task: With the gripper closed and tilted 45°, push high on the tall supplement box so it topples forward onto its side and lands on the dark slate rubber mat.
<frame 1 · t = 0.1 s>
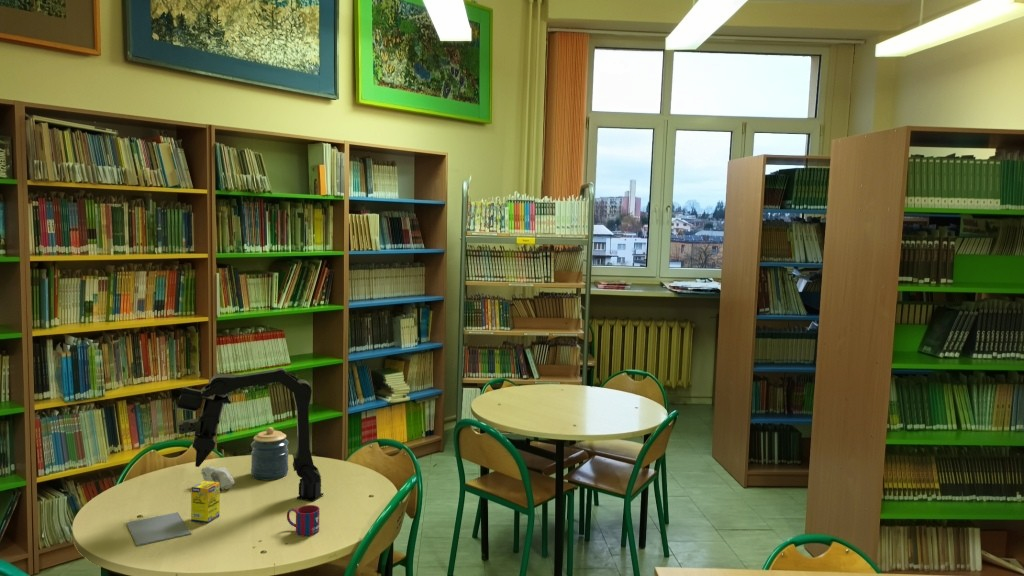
hand: (197, 462, 213), 15 cm above the table, tool pointing down, fingers open, 9 cm apart
supplement box: (205, 519, 207), on the table
skull: (218, 487, 234), on the table
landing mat: (158, 528, 199), on the table
mug: (302, 531, 202), on the table
canister: (269, 475, 248), on the table
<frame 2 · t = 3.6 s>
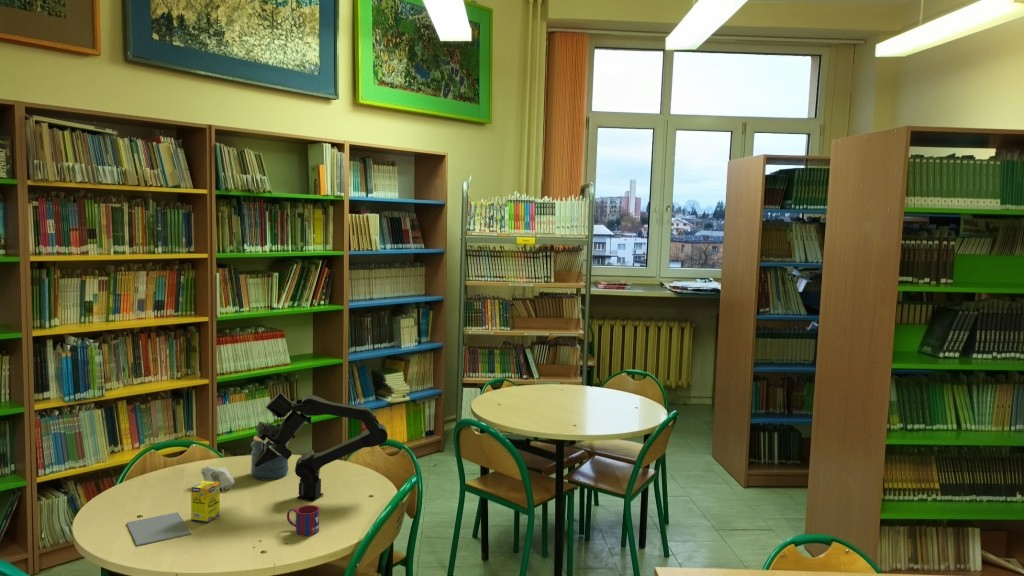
hand: (255, 466, 217), 13 cm above the table, tool tilted 45°, fingers closed
nothing on the table moved.
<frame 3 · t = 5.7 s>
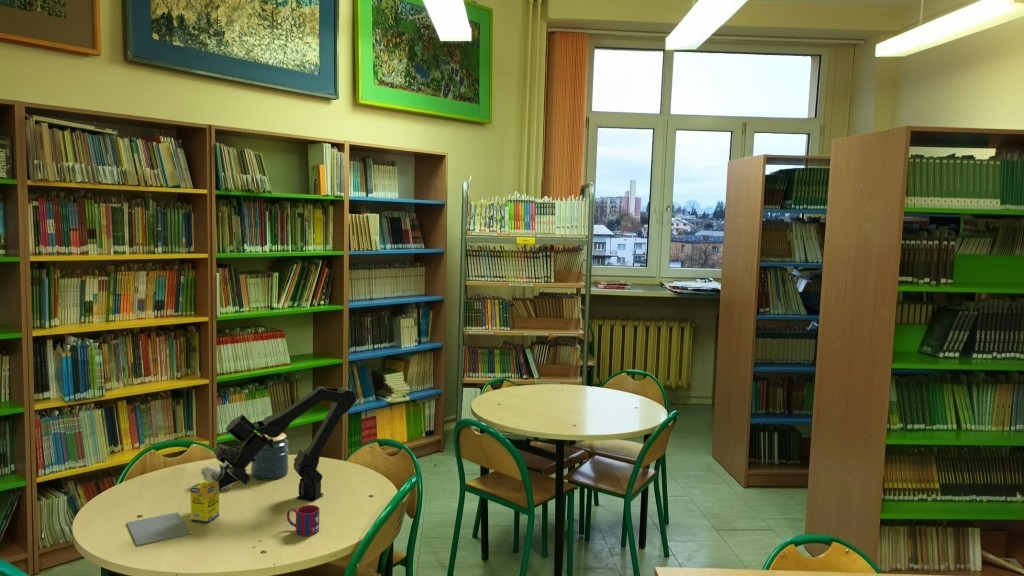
hand: (212, 490, 210), 8 cm above the table, tool tilted 45°, fingers closed
supplement box: (205, 519, 207), on the table, touching gripper
everything else where it was.
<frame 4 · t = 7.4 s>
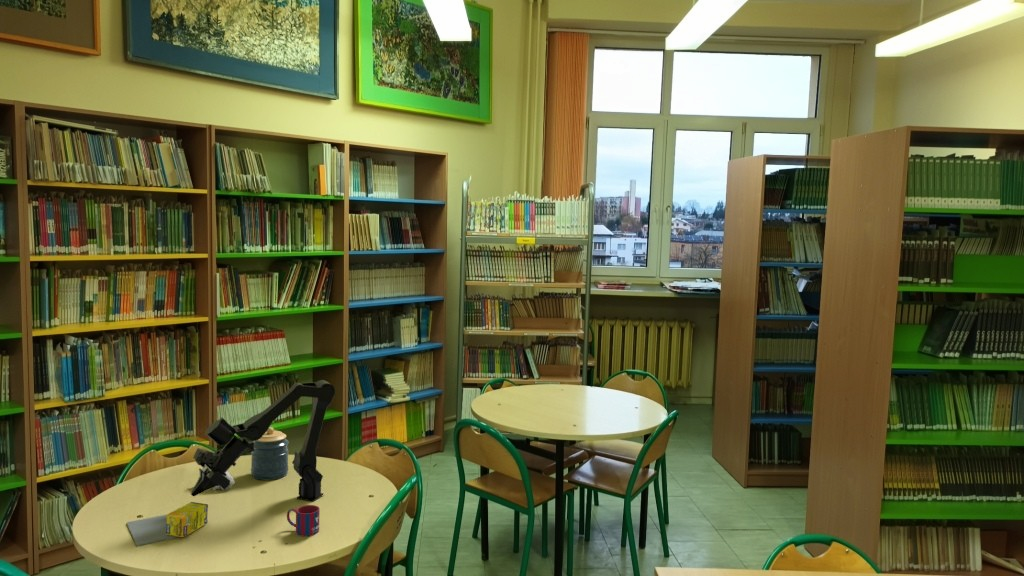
hand: (192, 495, 206), 8 cm above the table, tool tilted 45°, fingers closed
supplement box: (200, 512, 205), point 3 cm above the table, touching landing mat
everything else where it was.
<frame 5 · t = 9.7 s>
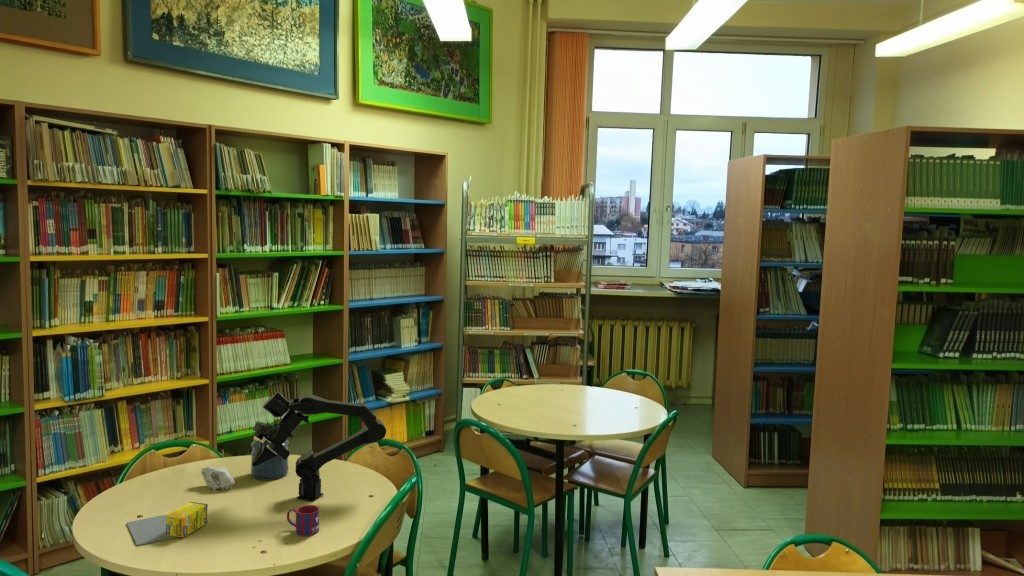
hand: (252, 465, 217), 13 cm above the table, tool tilted 45°, fingers closed
nothing on the table moved.
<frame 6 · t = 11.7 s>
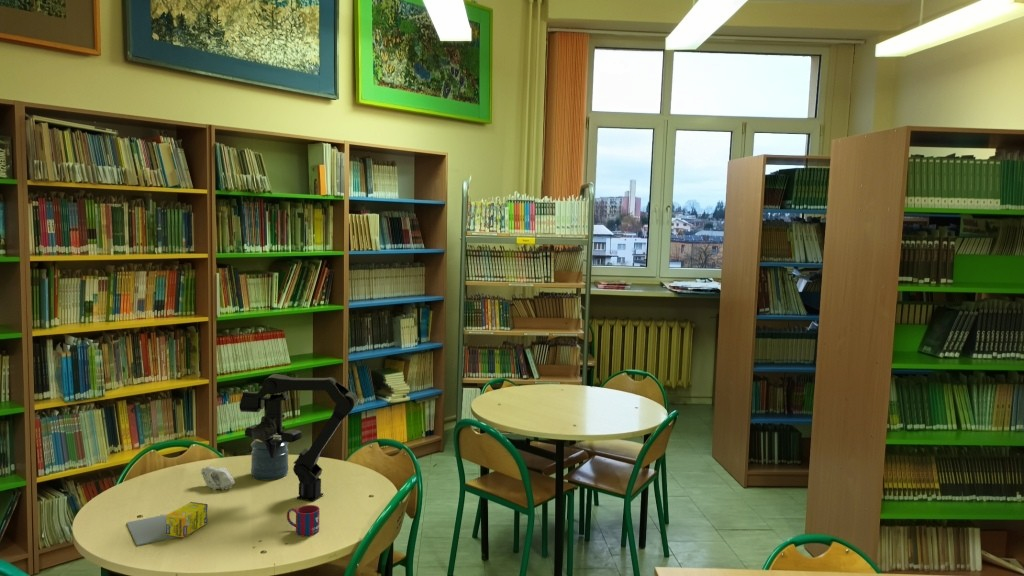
hand: (272, 458, 226), 13 cm above the table, tool pointing down, fingers closed
nothing on the table moved.
at the end: supplement box tilted 90°; supplement box touching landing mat; supplement box moved 4.3 cm from its start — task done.
